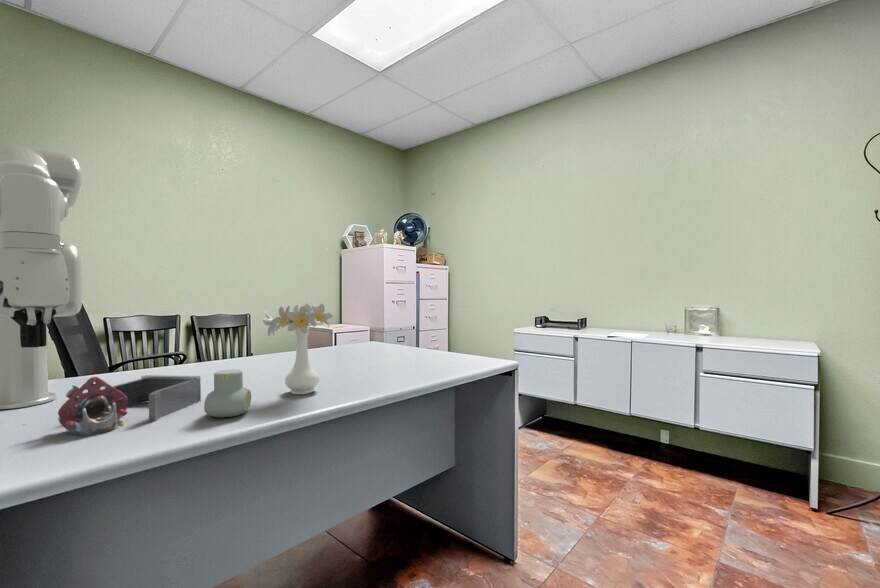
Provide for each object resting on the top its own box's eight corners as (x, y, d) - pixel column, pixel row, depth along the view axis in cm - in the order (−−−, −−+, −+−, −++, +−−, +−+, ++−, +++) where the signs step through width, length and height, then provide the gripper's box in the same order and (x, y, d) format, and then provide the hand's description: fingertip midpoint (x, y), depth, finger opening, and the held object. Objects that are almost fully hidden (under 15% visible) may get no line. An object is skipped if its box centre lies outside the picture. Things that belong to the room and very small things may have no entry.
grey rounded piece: (216, 409, 98) (215, 368, 97) (253, 406, 100) (252, 366, 100) (201, 423, 87) (200, 377, 87) (243, 420, 89) (242, 375, 89)
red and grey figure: (69, 432, 75) (56, 377, 79) (56, 456, 80) (45, 403, 84) (140, 416, 85) (126, 367, 89) (124, 439, 90) (112, 392, 94)
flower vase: (267, 389, 116) (266, 303, 116) (332, 384, 121) (331, 302, 121) (261, 401, 104) (259, 305, 103) (334, 395, 109) (333, 303, 109)
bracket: (82, 420, 90) (81, 390, 90) (142, 399, 106) (142, 375, 106) (153, 421, 88) (153, 391, 88) (204, 401, 104) (203, 375, 104)
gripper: (56, 249, 80) (58, 341, 80) (-41, 240, 65) (-38, 353, 65) (90, 249, 79) (92, 341, 79) (1, 239, 64) (3, 353, 64)
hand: (33, 346), depth 72 cm, fingers closed
